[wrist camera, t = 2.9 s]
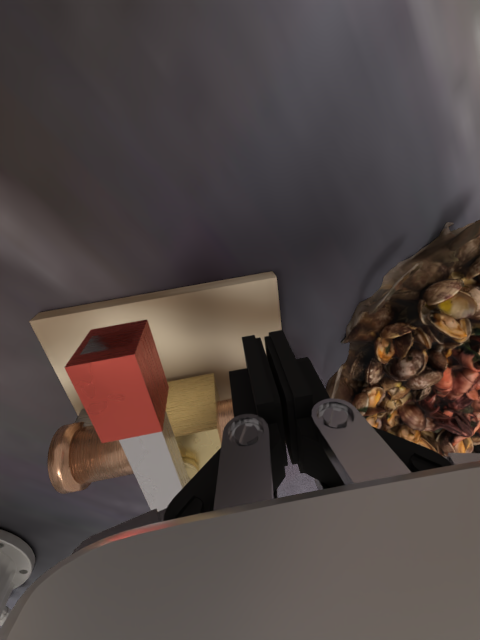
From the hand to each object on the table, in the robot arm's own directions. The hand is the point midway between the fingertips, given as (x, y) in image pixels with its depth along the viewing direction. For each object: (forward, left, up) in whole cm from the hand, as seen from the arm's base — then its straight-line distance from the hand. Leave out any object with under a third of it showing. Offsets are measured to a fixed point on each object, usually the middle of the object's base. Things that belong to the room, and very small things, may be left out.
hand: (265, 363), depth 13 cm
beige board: (-8, +6, -12) cm, 16 cm away
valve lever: (-5, +6, -3) cm, 8 cm away
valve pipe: (-10, +6, -11) cm, 16 cm away
